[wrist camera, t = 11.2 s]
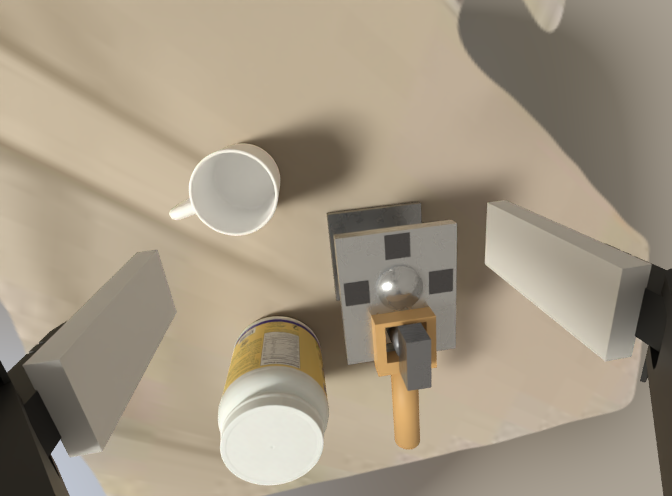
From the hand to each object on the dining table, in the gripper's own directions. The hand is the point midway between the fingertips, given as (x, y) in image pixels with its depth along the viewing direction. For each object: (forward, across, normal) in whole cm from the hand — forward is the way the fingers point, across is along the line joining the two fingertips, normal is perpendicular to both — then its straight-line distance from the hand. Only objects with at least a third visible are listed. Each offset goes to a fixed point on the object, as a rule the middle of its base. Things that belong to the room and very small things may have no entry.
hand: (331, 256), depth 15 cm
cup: (+33, -9, -2) cm, 34 cm away
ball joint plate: (+32, +8, -15) cm, 36 cm away
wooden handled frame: (+23, +8, -25) cm, 35 cm away
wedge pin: (+31, +8, -19) cm, 37 cm away
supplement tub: (+32, -7, -26) cm, 42 cm away
